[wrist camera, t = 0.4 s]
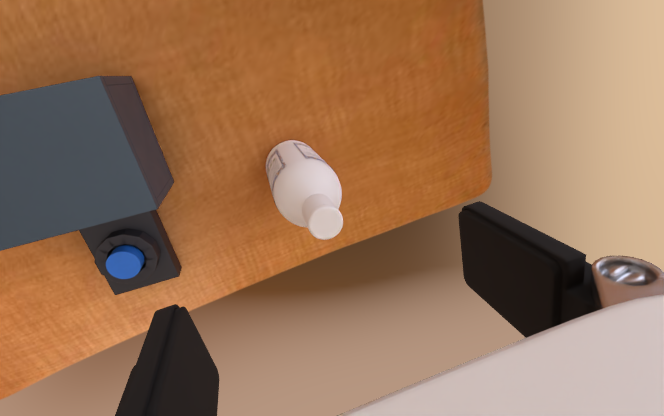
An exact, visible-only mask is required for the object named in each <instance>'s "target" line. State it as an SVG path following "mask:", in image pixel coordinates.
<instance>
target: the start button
mask: <svg viewBox="0 0 664 416" xmlns="http://www.w3.org/2000/svg"><path fill="white" fill-rule="evenodd" d="M143 264H144V255H143V253H142V252H141V251H140V250H139V249H138V248H136V247H134V246H131V245H123V246H119V247H117V248H116V249H114V250H113V252H112V253H111V254H110V256H109V257H108V259H107V261H106V269H107V271H108V272H109V273H110V274H111V275H112V276H114V277H116V278H119V279H129V278H132V277H134V276H136V275H137V274H138V273H139V271H140V270H141V268H142V266H143Z"/></svg>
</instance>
